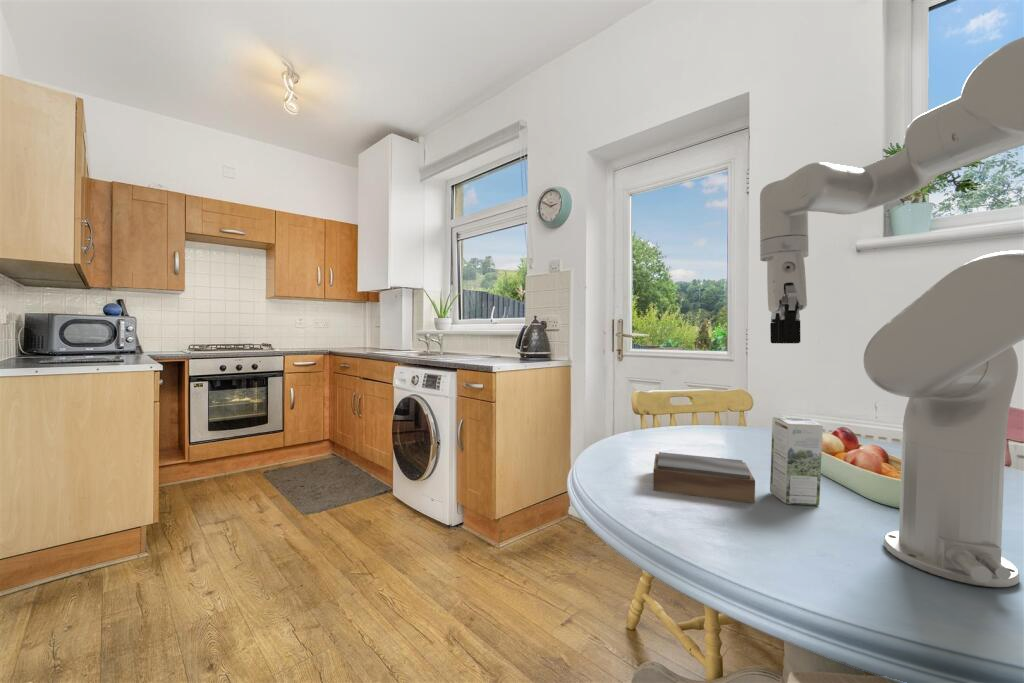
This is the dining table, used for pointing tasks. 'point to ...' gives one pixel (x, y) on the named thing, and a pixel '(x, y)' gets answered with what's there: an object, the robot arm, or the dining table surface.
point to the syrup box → (796, 460)
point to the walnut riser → (703, 477)
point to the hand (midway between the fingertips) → (784, 343)
